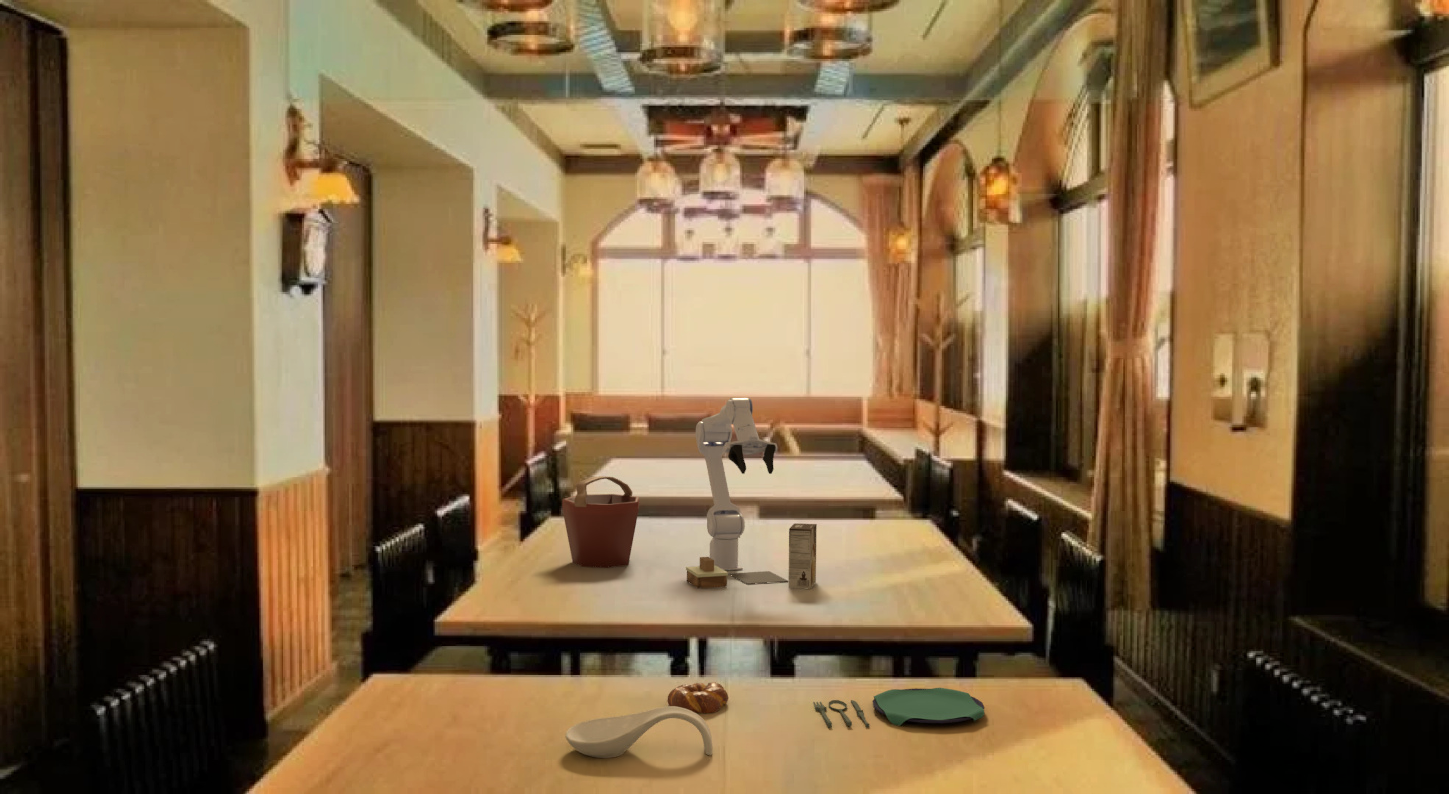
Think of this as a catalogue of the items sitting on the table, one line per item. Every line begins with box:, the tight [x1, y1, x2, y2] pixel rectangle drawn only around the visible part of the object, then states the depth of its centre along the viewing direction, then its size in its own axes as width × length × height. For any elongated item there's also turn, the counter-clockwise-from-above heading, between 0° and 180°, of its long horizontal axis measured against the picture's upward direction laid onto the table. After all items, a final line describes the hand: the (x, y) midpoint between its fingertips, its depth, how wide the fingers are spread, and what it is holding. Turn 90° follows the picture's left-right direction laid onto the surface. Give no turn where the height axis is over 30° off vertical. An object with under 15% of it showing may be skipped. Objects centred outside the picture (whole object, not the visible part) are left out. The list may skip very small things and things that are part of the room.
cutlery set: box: [813, 687, 985, 728], centre depth 219 cm, size 20×30×2 cm, turn 95°
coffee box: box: [788, 523, 818, 590], centre depth 327 cm, size 9×6×16 cm
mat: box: [728, 570, 789, 585], centre depth 336 cm, size 14×12×1 cm
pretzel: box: [666, 681, 729, 714], centre depth 222 cm, size 12×11×4 cm
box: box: [686, 570, 728, 589], centre depth 328 cm, size 10×8×3 cm
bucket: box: [561, 475, 640, 569], centre depth 356 cm, size 24×22×25 cm
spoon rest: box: [564, 705, 714, 759], centre depth 197 cm, size 24×12×7 cm, turn 93°
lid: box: [685, 556, 729, 577], centre depth 327 cm, size 10×8×4 cm
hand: (757, 471), depth 322 cm, fingers open, 7 cm apart
